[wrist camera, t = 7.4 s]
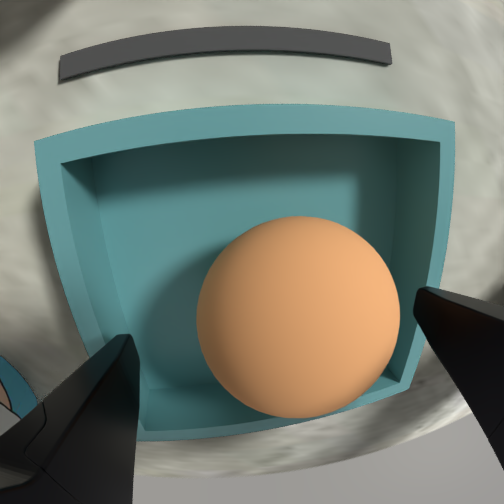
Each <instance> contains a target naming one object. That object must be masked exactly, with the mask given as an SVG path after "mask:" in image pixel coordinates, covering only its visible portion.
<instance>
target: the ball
mask: <svg viewBox="0 0 504 504" xmlns="http://www.w3.org/2000/svg"><path fill="white" fill-rule="evenodd" d="M196 325H197V333H198V339H199V343H200V347H201V351H202V353H203V355H204V358H205V360H206V362H207V365H208V366H209V368H210V370H211V371H212V373H213V375H214V376H215V377H216V379H217V380H218V381H219V382H220V384H221V385H222V386H223V387H224V388H225V389H226V390H227V391H228V392H229V393H230V394H231V395H233V396H234V397H235V398H236V399H238V400H239V401H241V402H242V403H244V404H245V405H247V406H249V407H251V408H253V409H255V410H257V411H259V412H262V413H265V414H268V415H272V416H277V417H283V418H310V417H317V416H320V415H324V414H328V413H331V412H333V411H336V410H338V409H340V408H343V407H345V406H347V405H348V404H350V403H351V402H353V401H355V400H356V399H357V398H359V397H360V396H361V395H362V394H363V393H365V392H366V391H367V390H368V389H369V388H370V387H371V386H372V385H373V384H374V383H375V382H376V381H377V379H378V378H379V377H380V375H381V374H382V372H383V371H384V369H385V367H386V366H387V364H388V362H389V360H390V358H391V356H392V354H393V351H394V348H395V345H396V342H397V337H398V331H399V325H400V306H399V299H398V293H397V290H396V287H395V283H394V281H393V278H392V276H391V273H390V271H389V269H388V268H387V266H386V264H385V262H384V261H383V259H382V258H381V257H380V255H379V254H378V253H377V252H376V250H375V249H374V248H373V247H372V246H371V245H370V244H369V243H368V242H367V241H366V240H364V239H363V238H362V237H360V236H359V235H358V234H357V233H355V232H353V231H352V230H350V229H348V228H347V227H345V226H342V225H340V224H338V223H336V222H333V221H330V220H326V219H322V218H317V217H307V216H290V217H283V218H278V219H274V220H271V221H267V222H264V223H261V224H259V225H257V226H255V227H252V228H251V229H249V230H248V231H246V232H244V233H243V234H241V235H240V236H238V237H237V238H236V239H234V240H233V241H232V242H231V243H230V244H229V245H228V246H227V247H226V248H225V249H224V250H223V251H222V252H221V253H220V254H219V256H218V257H217V258H216V260H215V261H214V263H213V264H212V266H211V267H210V269H209V271H208V273H207V275H206V277H205V279H204V282H203V285H202V288H201V291H200V294H199V299H198V305H197V315H196Z"/></svg>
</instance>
